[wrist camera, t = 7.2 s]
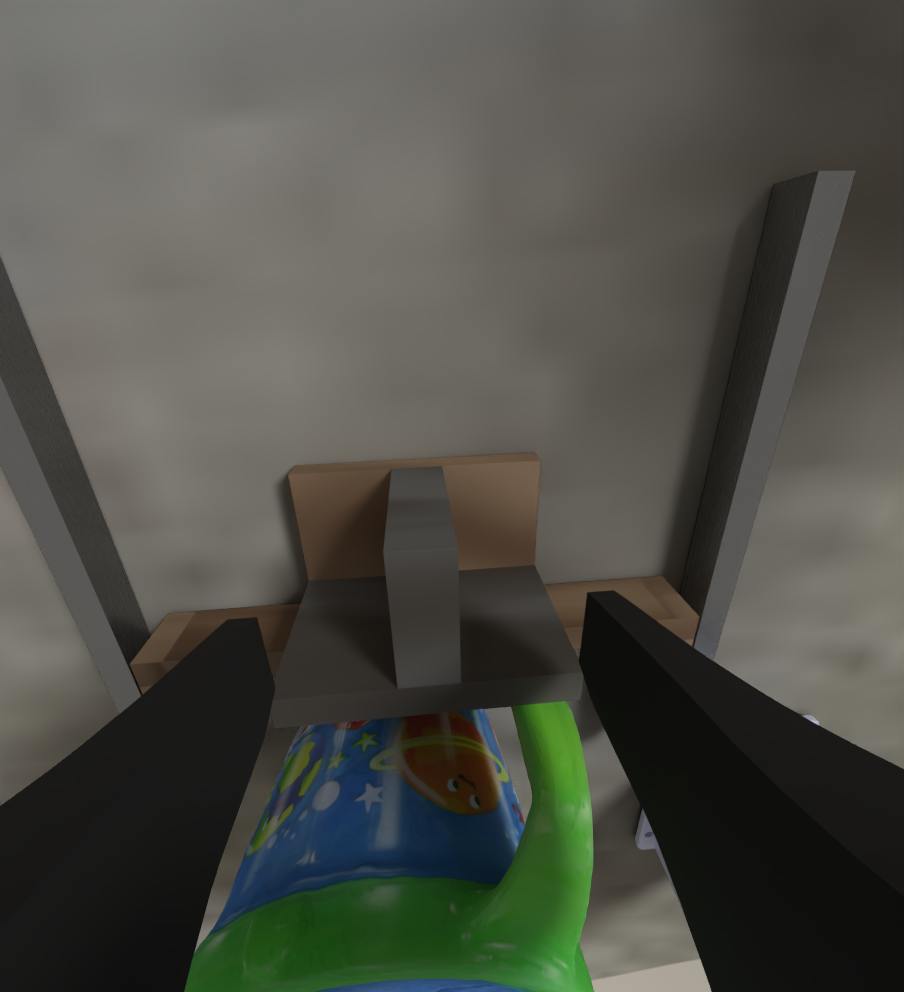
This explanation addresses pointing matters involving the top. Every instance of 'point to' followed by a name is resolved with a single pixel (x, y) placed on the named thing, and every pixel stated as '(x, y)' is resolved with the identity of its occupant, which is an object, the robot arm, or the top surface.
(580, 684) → the pull frame
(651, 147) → the top surface
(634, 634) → the robot arm
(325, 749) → the snack cup
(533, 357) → the top surface
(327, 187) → the top surface
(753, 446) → the guide rails
